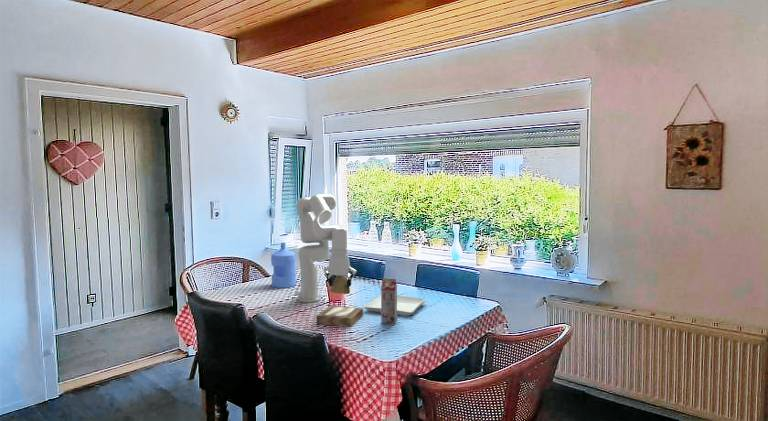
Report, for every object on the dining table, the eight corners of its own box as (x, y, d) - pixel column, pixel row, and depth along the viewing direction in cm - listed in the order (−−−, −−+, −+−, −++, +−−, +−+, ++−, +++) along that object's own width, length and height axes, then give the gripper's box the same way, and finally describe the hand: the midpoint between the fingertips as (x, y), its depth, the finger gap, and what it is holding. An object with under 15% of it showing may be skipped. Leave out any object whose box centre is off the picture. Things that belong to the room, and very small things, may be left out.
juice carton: (394, 324, 233) (394, 280, 231) (381, 324, 234) (381, 279, 232) (396, 320, 239) (396, 277, 237) (383, 320, 240) (383, 276, 238)
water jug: (288, 281, 326) (287, 240, 323) (300, 285, 314) (299, 243, 312) (267, 285, 315) (266, 243, 313) (279, 289, 304) (278, 245, 301)
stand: (316, 323, 235) (316, 315, 235) (330, 313, 252) (330, 305, 252) (351, 326, 230) (351, 318, 230) (362, 315, 247) (362, 307, 247)
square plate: (362, 313, 254) (362, 305, 253) (382, 300, 279) (382, 293, 279) (411, 318, 244) (411, 311, 243) (427, 304, 269) (427, 298, 269)
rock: (355, 289, 238) (350, 282, 247) (346, 277, 235) (340, 270, 244) (338, 303, 236) (333, 295, 245) (328, 291, 233) (323, 284, 242)
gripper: (320, 252, 237) (320, 287, 238) (353, 254, 232) (353, 289, 234) (326, 250, 244) (326, 283, 246) (358, 251, 240) (358, 285, 241)
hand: (339, 286), depth 240 cm, fingers closed on rock, 9 cm apart
